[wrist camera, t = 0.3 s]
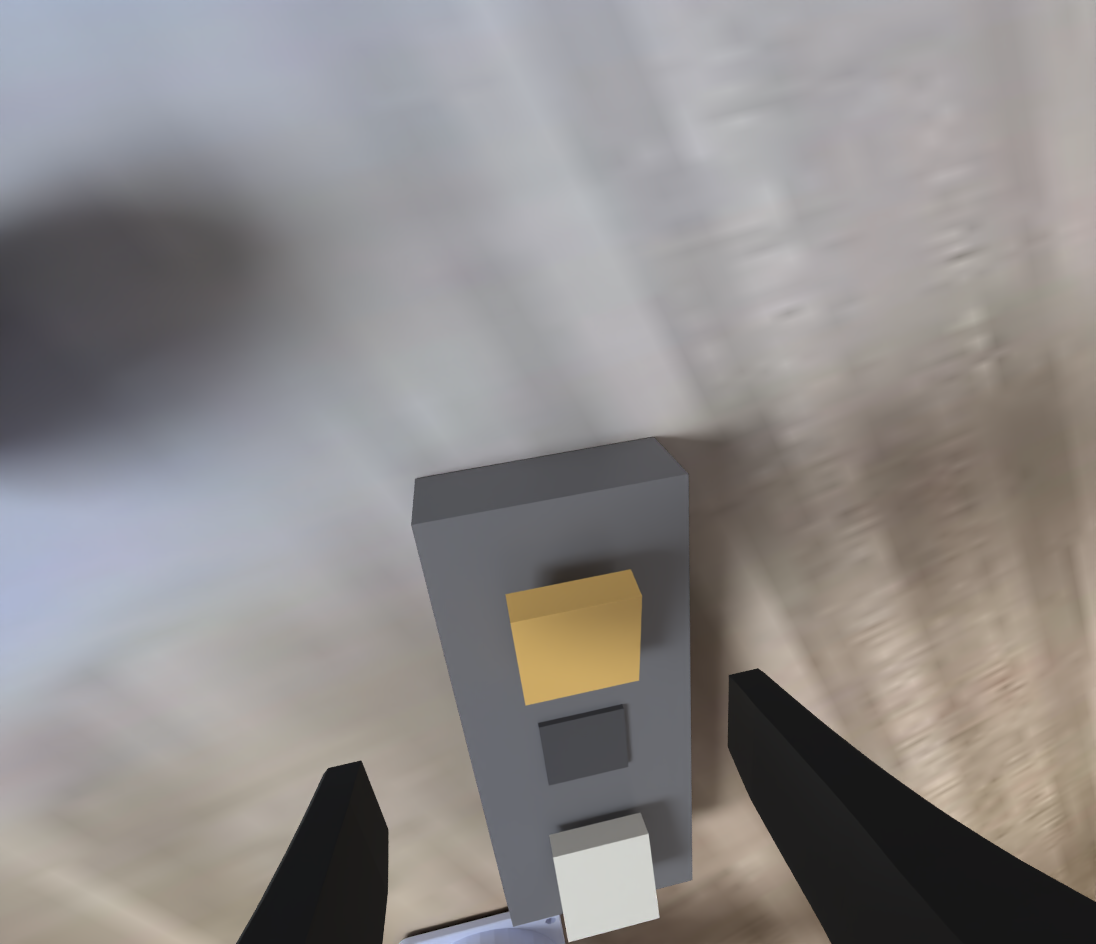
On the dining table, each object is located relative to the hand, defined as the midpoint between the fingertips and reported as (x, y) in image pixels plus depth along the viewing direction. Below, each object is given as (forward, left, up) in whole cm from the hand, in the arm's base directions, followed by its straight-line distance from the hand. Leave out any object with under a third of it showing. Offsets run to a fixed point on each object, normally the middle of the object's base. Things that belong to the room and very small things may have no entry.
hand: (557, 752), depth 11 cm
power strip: (-9, -1, -9) cm, 13 cm away
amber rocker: (-2, -1, -6) cm, 6 cm away
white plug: (-14, -1, -6) cm, 15 cm away
